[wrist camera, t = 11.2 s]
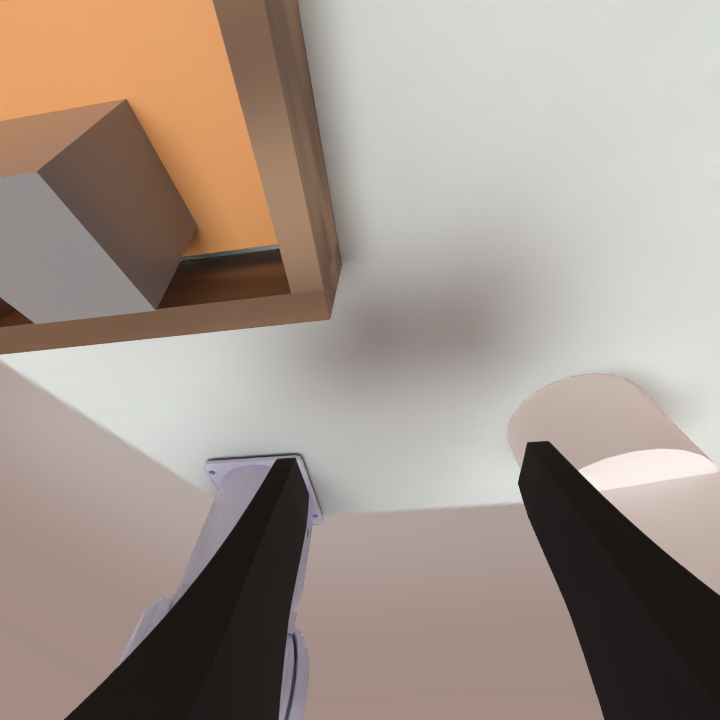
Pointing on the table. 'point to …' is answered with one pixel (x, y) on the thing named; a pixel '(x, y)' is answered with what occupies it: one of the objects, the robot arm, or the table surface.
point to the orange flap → (146, 96)
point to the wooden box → (283, 195)
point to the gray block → (86, 215)
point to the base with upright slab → (631, 462)
